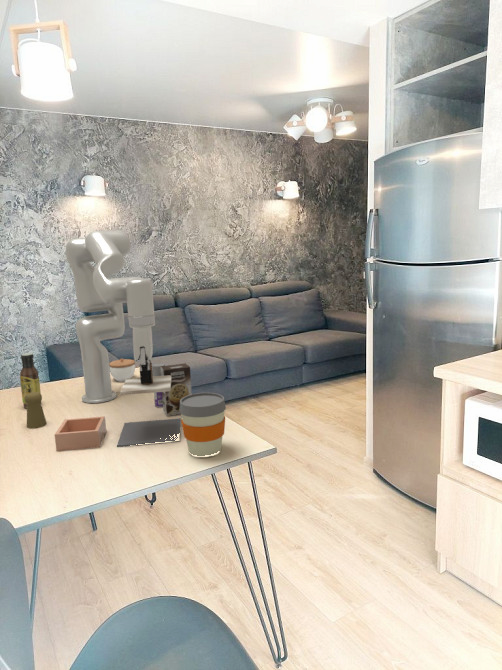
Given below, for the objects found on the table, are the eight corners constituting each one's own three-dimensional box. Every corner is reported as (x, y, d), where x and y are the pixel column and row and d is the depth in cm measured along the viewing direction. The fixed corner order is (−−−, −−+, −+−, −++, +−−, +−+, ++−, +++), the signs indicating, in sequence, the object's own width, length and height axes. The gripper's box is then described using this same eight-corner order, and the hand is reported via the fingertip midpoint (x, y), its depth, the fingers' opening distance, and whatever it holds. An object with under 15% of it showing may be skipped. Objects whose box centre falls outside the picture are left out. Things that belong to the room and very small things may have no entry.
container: (170, 403, 176) (167, 363, 173) (164, 408, 172) (161, 366, 169) (159, 402, 178) (156, 362, 175) (152, 407, 173) (149, 366, 170)
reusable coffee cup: (228, 440, 142) (225, 391, 139) (227, 460, 130) (224, 406, 127) (185, 442, 142) (181, 393, 139) (179, 462, 129) (176, 408, 126)
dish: (66, 434, 151) (64, 419, 150) (106, 431, 152) (104, 416, 151) (56, 451, 139) (54, 434, 138) (99, 447, 141) (98, 430, 140)
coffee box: (166, 416, 163) (163, 370, 160) (163, 410, 169) (159, 365, 166) (193, 412, 166) (190, 366, 163) (188, 406, 172) (185, 362, 169)
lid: (126, 381, 153) (124, 359, 152) (171, 378, 155) (170, 356, 154) (120, 395, 140) (118, 371, 138) (170, 391, 141) (168, 367, 140)
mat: (124, 424, 158) (124, 422, 158) (180, 419, 160) (180, 418, 160) (117, 447, 140) (116, 445, 140) (180, 441, 143) (180, 440, 142)
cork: (39, 428, 157) (35, 396, 155) (22, 428, 158) (18, 395, 156) (50, 422, 163) (46, 390, 160) (34, 421, 164) (30, 389, 162)
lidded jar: (140, 376, 213) (138, 355, 212) (129, 383, 203) (127, 361, 201) (118, 375, 216) (116, 355, 214) (105, 382, 206) (103, 361, 204)
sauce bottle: (19, 408, 178) (12, 354, 174) (34, 402, 183) (27, 351, 179) (31, 410, 175) (24, 356, 171) (46, 405, 180) (39, 352, 176)
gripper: (131, 317, 151) (137, 374, 155) (125, 326, 135) (131, 390, 138) (156, 316, 152) (161, 373, 155) (152, 324, 136) (158, 388, 139)
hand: (146, 380), depth 147 cm, fingers closed on lid, 3 cm apart
